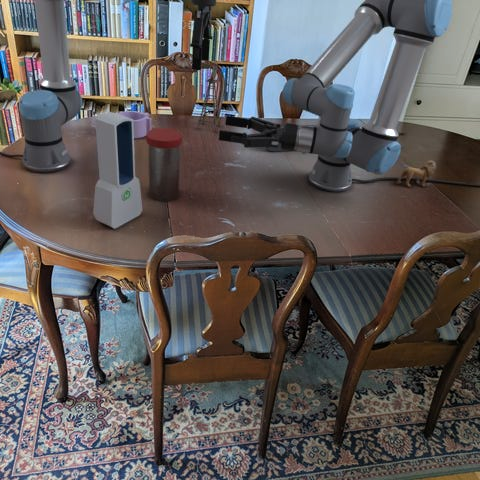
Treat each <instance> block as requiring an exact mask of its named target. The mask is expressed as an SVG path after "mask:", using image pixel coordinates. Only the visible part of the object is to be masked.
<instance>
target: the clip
mask: <svg viewBox="0 0 480 480" xmlns="http://www.w3.org/2000/svg"><path fill="white" fill-rule="evenodd" d="M115 113H116V114H119V115H122V116H125V117H128V118H131V119H133V125H134V139H140V138H144V137H146V134H147V132H148V131H150V130H153V129H152V127H153V126H152V118H151V117H150V113H149V112H142V111H138V110H137V111H135V110H124V111H119V112H115ZM101 114H102V113H100V114H98V116H99V115H101Z"/></svg>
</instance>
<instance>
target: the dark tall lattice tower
mask: <svg viewBox="0 0 480 480" xmlns="http://www.w3.org/2000/svg"><path fill="white" fill-rule="evenodd" d="M217 59H218V56H215V59H214V61H213V62H212V63H213V65H209V63H204V62H201V70H209V69H211V72H210V78H207V80H205V82H206V83H208V86H207V87H206V88H207V89H206V93H205V97H204V100H203V103H202V108H201V113H200V114H199V115H200V117H199V119H198V124H197V128H196V129H197V130H199V129H200V126H201V123H202V124H204V123H208V124H213V126H214V127H213V128H214V132H215V133H216V132H217V123H218V127H221V120H220V119H221V117H220V111H219V106H218V105H219V104H218V95H217V89H216V88H217V86H216V83H217V84H218V82H219V81H220V79H216V78H217V73H218V66H219V64H218V60H217ZM210 90H212V94H210ZM211 97H212V98H211ZM208 100H212V102H213V103H212V104H208V102H209V101H208ZM207 106H208V107H213V108H212V109H211V108H207ZM207 111H213V116H212V115H206V112H207ZM216 114H217V116H216ZM206 117H207V118H213V121H208V120H205V118H206ZM216 119H217V120H216Z"/></svg>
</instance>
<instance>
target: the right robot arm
mask: <svg viewBox="0 0 480 480" xmlns="http://www.w3.org/2000/svg"><path fill="white" fill-rule="evenodd" d="M452 1H453V0H364V1H363V2H362V3H361V4H360V5H359V6H358V7H357V8H356V10H355V11H354V15H353V16H354V17H353V18H352V19H351V21H349V23H348V24H347V25H346V26H345V27H344V28H343V29H342V30H341V32H340V33H339V34H338V35H337V36H336V37H335V39H333V40H332V42H331V43H330V44H329V46H328V47H327V48H326V49H325V50H324V51H323V52H322V53H321V55H320V56H319V57H318V58H317V59H316V60H315V61H314V62H313V64H312V65H311V66H310V67H309V68H308V69H307V71H305V73H304V74H303V75H302V76H301V78H297V77H296V78H295V77H292V78H290V79H288V80H287V81H285V83H284V85H283V88H282V92H281V95H282V96H281V97H282V99H283V101H284V102H285V103H286V104H288V105H289V106H291V107H293V108H296V109H299V110H303V111H305V112H308V113H310V114H312V115H315V116H317V117H321V118H320V123H319V126H320V127H313V126H306V125H307V124H299V125H300V126H299V127H297V125H298V124H296V123H289V122H285V123H284V129H281V128H280V127H281V125H282V124H281V123H277V122H272V121H269V120H265V119H262V118H258V117H255V116H251V117H249V118H247V117H246V118H245V117H239V116H232V115H225V123H224V125H225V126H230V127H235V128H240V129H241V128H242V129H246V130H254V131H256V132H257V133H256V132H255V133H249V134H248V133H246V132H245V131H244V132H238V131H231V130H223V129H219V131H218V141H220V142H221V141H222V142H229V143H234V144H241V145H243V148H246V149H248V148H250V149H252V148H253V149H254V148H266V147H275V148H278V144H279V143H281V149H282V150H289V151H290V152H293V151H292V150H294V149H295V150H294V151H295V152H297V153H301V154H302V155H305V154H311V155H317V159H316V161H315V163H314V165H313V167H312V168H311V170H310V172H309V175H308V182H309V183H310V184H311V185H312V186H313V187H314V188H317V189H319V190H322V191H327V192H331V193H341V192H346V191H348V190H349V189H350V188H351V187H352V183H353V182H357V183H362V184H368V183H374V182H378V181H397V180H398V178H399V177H400V176H398V177H395V176H394V177H392V176H391V177H390V176H389V177H388V176H387V177H385V176H384V177H376V178H373V179H359V178H353V177H352V170H351V169H352V168H351V165H353V166H355V167H357V168H360V169H362V170H364V171H366V173H371V174H373V175H383V174H385V173H387V172H388V171H389V170H390V169H391V168H392V167H393V166H395V164H396V162H397V160H398V158H399V157H400V154H401V151H402V149H401V148H402V145H401V144H400V142H398V140H399V139H398V138H399V134H398V133H399V132H398V130H397V127H398V124H399V121H400V119H401V116H402V114H403V111H404V108H405V105H406V102H407V99H408V97H409V94H410V91H411V89H412V86H413V83H414V80H415V78H416V75H417V73H418V69H419V67H420V64H421V62H422V58H423V55H424V53H425V50H426V48H428V47H430V46H431V45H433V44H434V41H435V38H440V37H441V36H443V35H444V34H445V33H446V32H445V31H446V30H447V29H448V27H449V24H450V22H451V18H452V12H453V4H452V3H453V2H452ZM389 27H390V28H394V29H393V34H392V35H393V37H394V39H395V44H394V46H393V50H392V52H391V56H390V59H389V61H388V64H387V68H386V70H385V73H384V75H383V80H382V82H381V85H380V88H379V91H378V93H377V97H376V100H375V103H374V105H373V109H372V112H371V115H370V118H369V120H368V121H367V122H366V123H364V124H362V126H361V122H360V121H359V120H358V119H355V118H351V114H352V110H353V108H354V102H355V101H354V99H355V96H356V95H355V94H356V93H355V90H354V88H353V87H351V86H350V85H349V86H348V85H344V84H339V83H332V82H333V81H334V80H335V79H336V78H337V77H338V76H339V75H340V73H341V72H342V71H343V70H344V69H345V67H347V65H348V64H349V63H350V62H351V61H352V60H353V58H354V57H355V56H356V55H357V53H358V52H359V51H360V50H361V49H362V48H363V47H364V46H365V45H366V44H367V42H368V41H369V40H371V38H372V36H375V35H378V34H379V33H380V32H381V31H382V30H383V29H386V28H389ZM289 151H288V152H289ZM417 179H418V178H414V177H412V178H411V179H410V181H417ZM406 180H407V177H403V178H401V180H400V181H406ZM422 180H423V179H422V178H420V182H422ZM425 182H431V183H441V184H451V185H459V186H471V187H480V185H476V184H477V183H473V184H466V183H467V182H461V181H453V180H443V179H433V178H426V181H425Z"/></svg>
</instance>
